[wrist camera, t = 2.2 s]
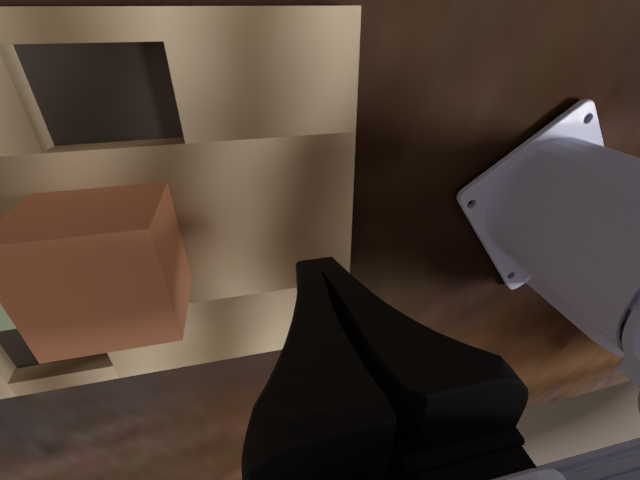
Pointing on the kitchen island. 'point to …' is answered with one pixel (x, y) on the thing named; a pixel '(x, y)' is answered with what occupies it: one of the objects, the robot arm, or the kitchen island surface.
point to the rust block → (94, 270)
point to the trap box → (188, 155)
